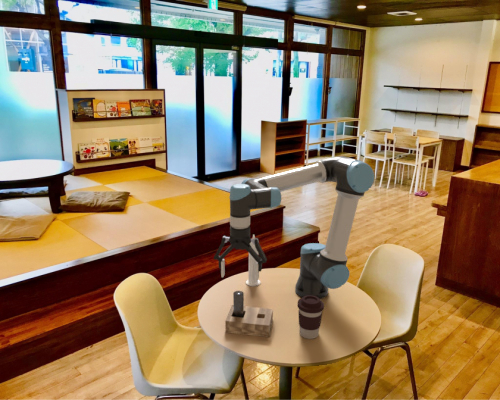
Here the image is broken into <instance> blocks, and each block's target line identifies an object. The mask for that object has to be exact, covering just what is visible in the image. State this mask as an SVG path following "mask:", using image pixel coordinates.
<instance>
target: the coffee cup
mask: <svg viewBox="0 0 500 400" xmlns="http://www.w3.org/2000/svg"><path fill="white" fill-rule="evenodd" d="M297 309H298V326H299V327H298V328H299V334H300V336H301V337H302V338H304V339H308V340H312V339H313V340H314V339H315V338H316V339H317V337H319V335H320V334H319V333H320V327H321V325H322V323H321V322H322V316H323V311H324V309H325V303H324V302H323V301H322V300H321V299H319V298H318V297H316V296H313V295H306V296H304V297H301V298H299V299H298V300H297Z"/></svg>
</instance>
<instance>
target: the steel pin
mask: <svg viewBox="0 0 500 400" xmlns="http://www.w3.org/2000/svg"><path fill="white" fill-rule="evenodd" d="M244 296H245V295H244V291H243V290H236V291H233V297H232V298H233V300H232V301H233V302H232V303H233V304H232V305H233V308H234V317H241V318H244V306H245V305H244V304H245V303H244V302H245V301H244V299H245V298H244Z"/></svg>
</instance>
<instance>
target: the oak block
mask: <svg viewBox="0 0 500 400" xmlns="http://www.w3.org/2000/svg"><path fill="white" fill-rule="evenodd" d="M273 317H274V309H273V308H264V307H256V306H247V305H246V306H245V305H244V318H241V317H234V308H233V304H232V305H230V308H229V312H228V314H227V315H226V319H225V321H224V322H225V330H224V331H225V333H228V334H229V333H230V334H231V333H232V334H238V335H247V336H248V335H249V336H257V337H266V338H270V333H271V329H272V324H273V320H274V319H273Z"/></svg>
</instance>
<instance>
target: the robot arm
mask: <svg viewBox="0 0 500 400" xmlns="http://www.w3.org/2000/svg"><path fill="white" fill-rule="evenodd" d="M374 181H375V173H374V170H373V168H372V167H371V166H370V165H369V164H368V163H366V162H364V161H362V160H359V159H354V158H351V157H348V156H345V155H339V156H337V155H336V156H333V157H327V158H323V159H320V160H317V161H316V162H315V163H314V164H310V165H307V166H302V167H300V168H295V169H291V170H287V171H283V172H280V173H276V174H275V173H274V174H272V175H267V176H264V177H259V178H256V179H254V178H250V177H249V178H245V179H243V181H241V183H236V184H232V185H231V186H230V188H229V225H230V227H229V236H226V235H223V236H222V238H221V243H220V244H219V247H218V249H217V250H216V253H215V254H214V256H213V259H214V260H217V261H218V269H220V275H221V278H224V276H225V274H226V273H225V272H226V270H225V265H226V262H225V261H226V260H225V257H226V256H227V255H228V254H229V253H231V251H232V250H233V249H235V250H241V251H242V250H243V251H244V250H245V251H247V252H248V254H249V253H250V254H251V255H252V257H253V258H254V259H255V260H256V261H257V264H256V280H260V279H259V278H260V272H262V270H263V264H265V263H267V260H268V258H267V256H266V254H265V252H264V250H263V248H262V246H261V244H260V241H259V237H255V239H252V238H251V226H250V225H251V211H253V210H259V209H269V208H270V209H271V208H275V207H277V208H278V207H279V206H281V204H282V203H281V202H282V193H281V192H284V191H289V190H292V189H296V188H299V187H304V186H307V185H311V184H315V183H318V182H319V183H322V184H324V183H328V182H332V183H336V184H335V191H336V193H337V197H336V201H335V205H334V208H333V213H332V217H331V222H330V225H329V230H328V233H327V238H326V241H325V243H324V244H323V243H320V242H319V243H318V242H317V243H316V242H315V243H314V242H312V243H311V242H310V243H305V244H304V245H302V246H301V248H300V259H299V261H300V262H299V263H300V264H299V276H298V279H297V280H296V283H295V287H294V288H295V290H294V292H295V294H296V295H298V296H299V297H301V298H303V297H304V296H306V295H313V296H316V297H318V298H319V299H320V300H321V299H324V298H326V297H328V295H329V289H331V290H334V289H338V288H341V287H343V286H344V285H345V284H346V283H347V282H348V280H349V277H350V269H349V268H348V266H347V262H348V256H347V255H346V252H347V248H348V243H349V240H350V235H351V232H352V228H353V224H354V219H355V217H356V213H357V208H358V204H359V200H360V199H361V198H363V197H364V196H365V192H368V191H369V190H370V188H372V187H373V184H374ZM228 242H229V243H230V245H229V246H228V247H227V248H226V250H225V251H224V252H223V253H221V252H222V249H223V247H224V245H225V244H226V243H228ZM251 242H252V243H253V244H254V245H255V247H256V249H257V251H258V254H257V253H256V252H255V251H254V250H253V248H252V247H251V245H250V243H251ZM220 253H221V255H220Z"/></svg>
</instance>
